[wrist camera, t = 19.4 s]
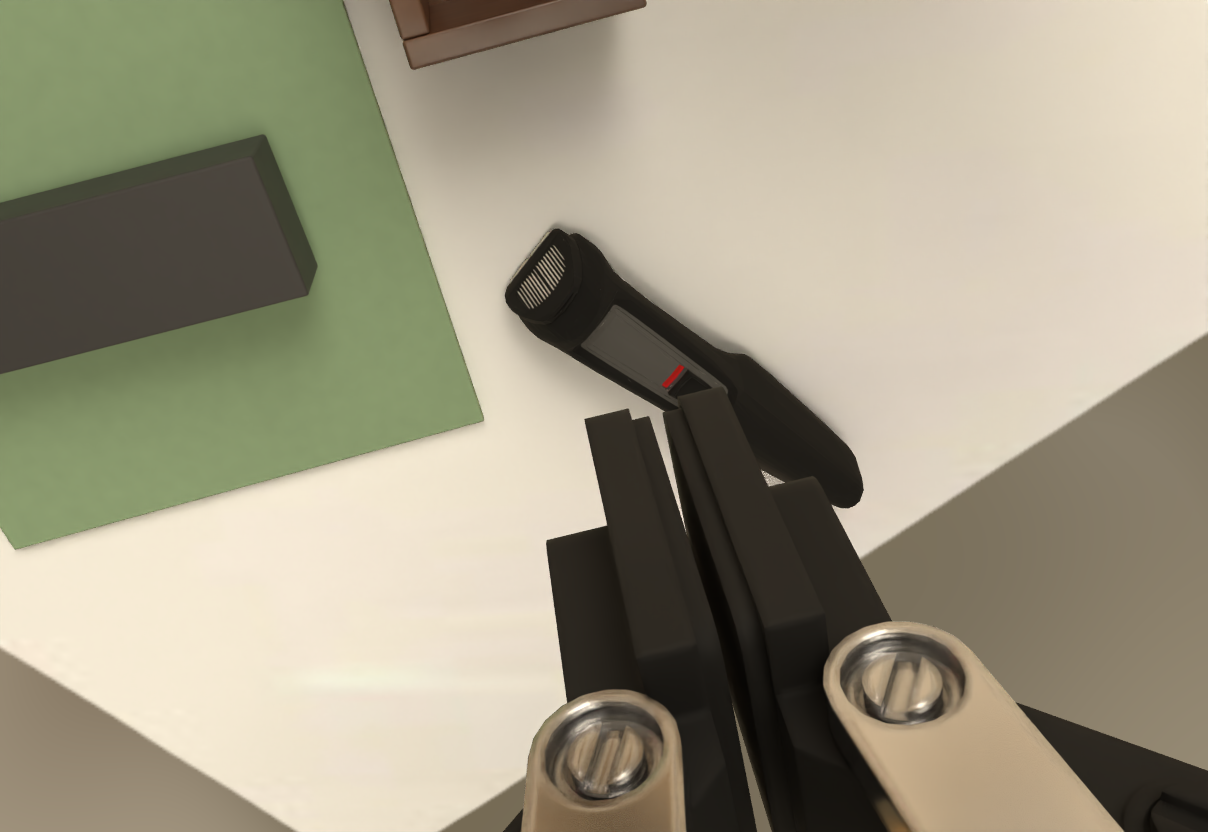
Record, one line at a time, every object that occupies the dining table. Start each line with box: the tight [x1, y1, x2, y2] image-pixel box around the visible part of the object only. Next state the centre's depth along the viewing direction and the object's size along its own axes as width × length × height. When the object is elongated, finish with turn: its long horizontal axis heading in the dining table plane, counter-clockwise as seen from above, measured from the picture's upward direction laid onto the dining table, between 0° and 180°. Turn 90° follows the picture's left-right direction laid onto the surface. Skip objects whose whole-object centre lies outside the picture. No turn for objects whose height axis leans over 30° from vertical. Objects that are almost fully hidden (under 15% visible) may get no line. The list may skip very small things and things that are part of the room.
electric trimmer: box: [505, 229, 864, 508], centre depth 39 cm, size 4×16×3 cm, turn 51°
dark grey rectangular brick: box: [0, 134, 318, 374], centre depth 34 cm, size 5×3×14 cm
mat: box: [0, 0, 484, 550], centre depth 35 cm, size 20×18×1 cm
